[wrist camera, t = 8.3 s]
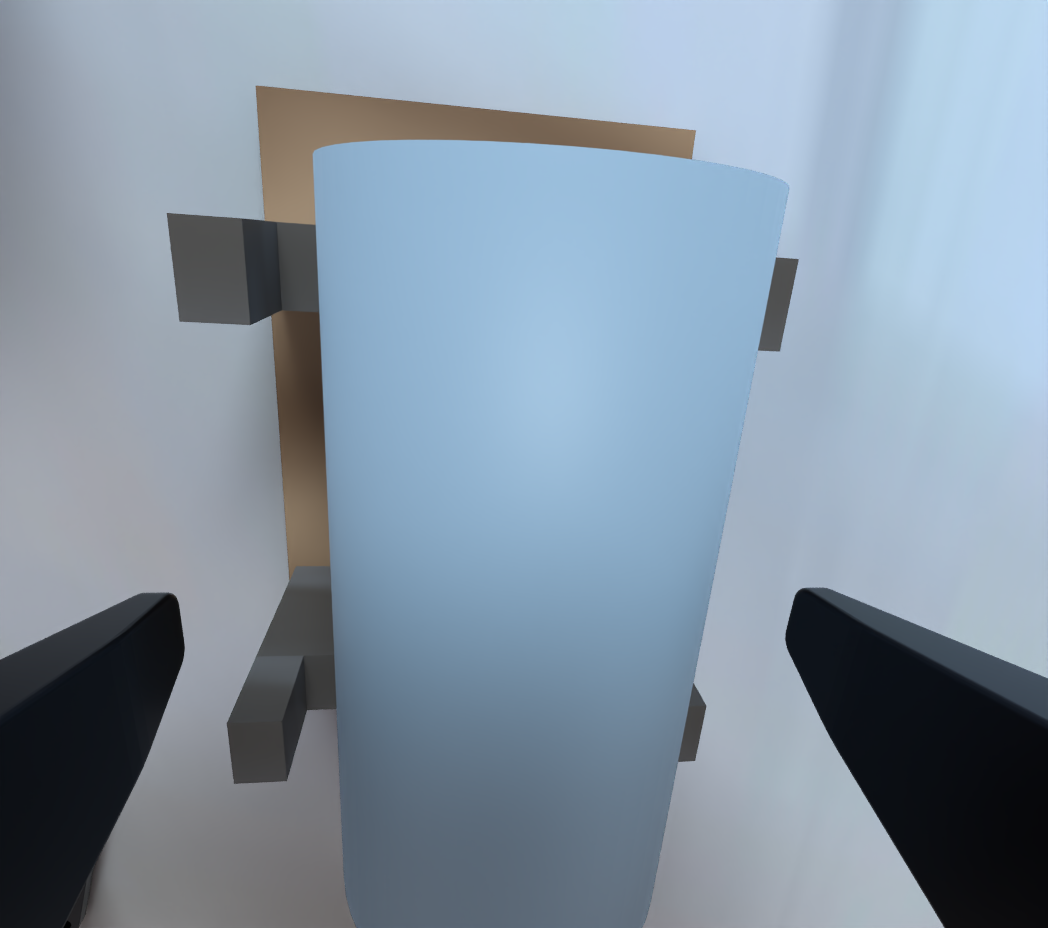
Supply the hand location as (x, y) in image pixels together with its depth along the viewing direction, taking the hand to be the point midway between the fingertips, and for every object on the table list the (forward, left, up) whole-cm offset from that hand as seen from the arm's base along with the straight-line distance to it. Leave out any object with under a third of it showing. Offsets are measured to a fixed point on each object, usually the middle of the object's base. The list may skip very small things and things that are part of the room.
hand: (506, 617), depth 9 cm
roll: (0, 0, -1) cm, 1 cm away
